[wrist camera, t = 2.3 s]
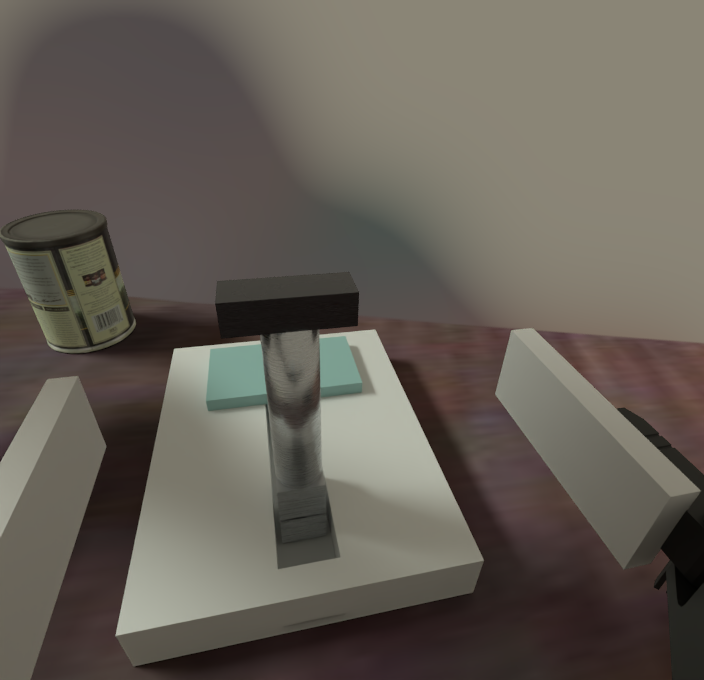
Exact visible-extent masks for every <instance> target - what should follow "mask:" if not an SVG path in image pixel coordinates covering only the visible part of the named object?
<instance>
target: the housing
mask: <svg viewBox="0 0 704 680" xmlns="http://www.w3.org/2000/svg"><path fill="white" fill-rule="evenodd" d="M340 336H346V339H347V342H348V344H349V347H350V350H351V353H352V355H353V358H354V361H355V364H356V366H357V369H358V372H359V375H360V377H361V380H362V392H361V393H353V394H345V395H337V396H329V397H321V438H322V469H323V475H324V480H325V485H326V535H325V536H319V537H314V538H308V539H302V540H297V541H291V542H286V543H282V534H281V525H280V516H279V507H278V498H277V488H276V476H275V466H274V457H273V448H272V439H271V430H270V421H269V411H268V404H263V405H255V406H247V407H238V408H230V409H222V410H214V411H208V409H207V404H206V394H207V382H208V371H209V359H210V349H216V348H227V347H237V346H247V345H258V344H261V341H251V342H240V343H230V344H219V345H209V346H198V347H188V348H177V349H174V352H173V357H172V362H171V367H170V372H169V377H168V381H167V386H166V391H165V396H164V401H163V406H162V411H161V416H160V421H159V426H158V430H157V435H156V440H155V445H154V450H153V455H152V460H151V465H150V470H149V474H148V479H147V484H146V489H145V494H144V499H143V504H142V509H141V514H140V518H139V523H138V528H137V533H136V538H135V543H134V548H133V553H132V558H131V562H130V567H129V572H128V577H127V582H126V587H125V592H124V597H123V602H122V606H121V611H120V616H119V621H118V626H117V631H116V638H117V639H118V641H119V643H120V644H121V646H122V648H123V649H124V651H125V653H126V654H127V656H128V658H129V660H130V661H131V663H132V665H133V666H138V665H143V664H147V663H152V662H157V661H161V660H166V659H170V658H175V657H180V656H184V655H189V654H193V653H198V652H203V651H207V650H212V649H216V648H221V647H225V646H230V645H235V644H239V643H244V642H248V641H253V640H258V639H262V638H267V637H271V636H276V635H280V634H285V633H290V632H294V631H299V630H303V629H308V628H313V627H317V626H322V625H326V624H331V623H336V622H340V621H345V620H349V619H354V618H358V617H363V616H368V615H372V614H377V613H381V612H386V611H391V610H395V609H400V608H404V607H409V606H413V605H418V604H423V603H427V602H432V601H436V600H441V599H446V598H450V597H455V596H459V595H464V594H469V593H473V592H474V589H475V586H476V583H477V580H478V577H479V574H480V571H481V568H482V565H483V562H484V559H483V557H482V555H481V553H480V551H479V549H478V547H477V544H476V542H475V540H474V538H473V536H472V534H471V532H470V530H469V527H468V525H467V523H466V521H465V519H464V517H463V515H462V513H461V511H460V508H459V506H458V504H457V502H456V500H455V498H454V496H453V494H452V491H451V489H450V487H449V485H448V483H447V481H446V479H445V477H444V475H443V472H442V470H441V468H440V466H439V464H438V462H437V460H436V458H435V455H434V453H433V451H432V449H431V447H430V445H429V443H428V441H427V439H426V436H425V434H424V432H423V430H422V428H421V426H420V424H419V422H418V419H417V417H416V415H415V413H414V411H413V409H412V407H411V405H410V403H409V400H408V398H407V396H406V394H405V392H404V390H403V388H402V386H401V383H400V381H399V379H398V377H397V375H396V373H395V371H394V369H393V367H392V364H391V362H390V360H389V358H388V356H387V354H386V352H385V350H384V347H383V345H382V343H381V341H380V339H379V337H378V335H377V333H376V331H375V330H366V331H356V332H345V333H335V334H324V335H319V338H330V337H340Z"/></svg>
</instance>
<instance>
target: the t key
mask: <svg viewBox="0 0 704 680" xmlns="http://www.w3.org/2000/svg"><path fill="white" fill-rule="evenodd" d="M358 304H359V291H358V289H357V287H356V285H355V283H354V281H353V279H352V277H351V275H350V273H349V272H342V273H328V274H313V275H300V276H285V277H270V278H256V279H242V280H229V281H228V280H227V281H217V289H216V301H215V305H216V311H217V317H218V323H219V329H220V335H221V339H222V338H233V337H243V336H254V335H260V338H261V347H262V356H263V365H264V375H265V384H266V393H267V402H268V411H269V421H270V430H271V439H272V448H273V457H274V466H275V476H276V488H277V498H278V507H279V516H280V525H281V534H282V543H286V542H291V541H297V540H302V539H308V538H314V537H319V536H325V535H326V485H325V480H324V475H323V469H322V438H321V389H320V341H319V329H329V328H340V327H351V326H358Z"/></svg>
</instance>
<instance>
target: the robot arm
mask: <svg viewBox="0 0 704 680" xmlns="http://www.w3.org/2000/svg"><path fill="white" fill-rule="evenodd" d="M495 395H496V396H497V397H498V399H499V400H500V401H501V403H502V404H503V406H504V407H505V408H506V410H507V411H508V412H509V414H510V415H511V416H512V418H513V419H514V421H515V422H516V423H517V425H518V426H519V427H520V429H521V430H522V431H523V433H524V434H525V436H526V437H527V438H528V440H529V441H530V442H531V444H532V445H533V446H534V448H535V449H536V451H537V452H538V453H539V455H540V456H541V457H542V459H543V460H544V461H545V463H546V464H547V466H548V467H549V468H550V470H551V471H552V472H553V474H554V475H555V476H556V478H557V479H558V481H559V482H560V483H561V485H562V486H563V487H564V489H565V490H566V491H567V493H568V494H569V496H570V497H571V498H572V500H573V501H574V502H575V504H576V505H577V506H578V508H579V509H580V511H581V512H582V513H583V515H584V516H585V517H586V519H587V520H588V521H589V523H590V524H591V526H592V527H593V528H594V530H595V531H596V532H597V534H598V535H599V536H600V538H601V539H602V541H603V542H604V543H605V545H606V546H607V547H608V549H609V550H610V551H611V553H612V554H613V556H614V557H615V558H616V560H617V561H618V562H619V564H620V565H621V566H622V568H623V569H628V568H633V567H637V566H641V565H646V564H650V563H651V562H652V561H653V559H654V558H655V556H656V555H657V554H658V552H659V551H660V549H662V550H663V552H664V553H665V554H666V555H667V556H668V558H669V559H670V561H669V562H668V564H667V565H666V566H665V568H664V569H663V570H662V572H661V573H660V574H659V576H658V577H657V579H656V580H655V583H654V588H656V589H658V590H659V589H660V587H661V586H662V585H663V583H664V582H665V581H666V580H667V591H666V593H667V596H668V613H669V631H670V648H671V666H672V680H704V475H703V474H702V473H701V472H700V471H699V470H698V469H697V468H696V467H695V466H694V465H693V464H692V463H690V462H689V461H688V460H687V459H686V458H685V457H684V456H683V455H682V454H681V453H680V452H679V451H678V450H676V449H675V448H672V447H671V444H670V443H669V442H668V441H667V440H666V439H665V438H663V437H662V436H659V433H658V432H657V431H656V430H655V429H654V428H653V427H652V426H651V425H649V424H648V423H647V422H646V421H645V420H644V419H643V418H641V417H639V416H637V415H636V414H634V413H632V412H631V411H629V410H627V409H625V408H618V409H616V408H615V407H614V406H613V405H612V404H611V403H610V402H608V401H607V400H606V399H605V398H604V397H603V396H602V395H601V394H600V393H599V392H598V391H597V390H596V389H595V388H594V387H593V386H592V385H591V384H590V383H589V382H588V381H587V380H586V379H585V378H584V377H583V376H582V375H581V374H580V373H578V372H577V371H576V370H575V369H574V368H573V367H572V366H571V365H570V364H569V363H568V362H567V361H566V360H565V359H564V358H563V357H562V356H561V355H560V354H559V353H558V352H557V351H556V350H555V349H554V348H553V347H552V346H551V345H550V344H548V343H547V342H546V341H545V340H544V339H543V338H542V337H541V336H540V335H539V334H538V333H537V332H536V331H535V330H534V329H533V328H528V329H519V330H512V331H511V334H510V338H509V342H508V346H507V350H506V354H505V358H504V362H503V366H502V370H501V374H500V378H499V381H498V385H497V389H496V393H495ZM105 449H106V444H105V441H104V439H103V436H102V434H101V431H100V429H99V426H98V424H97V421H96V419H95V417H94V414H93V412H92V409H91V407H90V404H89V402H88V399H87V397H86V394H85V392H84V390H83V387H82V385H81V382H80V380H79V377H78V376H74V377H64V378H55V379H47V381H46V383H45V384H44V386H43V388H42V390H41V391H40V393H39V395H38V397H37V398H36V400H35V402H34V404H33V406H32V407H31V409H30V411H29V413H28V414H27V416H26V418H25V420H24V421H23V423H22V425H21V427H20V428H19V430H18V432H17V434H16V436H15V437H14V439H13V441H12V443H11V444H10V446H9V448H8V450H7V451H6V453H5V455H4V457H3V458H2V460H1V462H0V680H31V677H32V674H33V670H34V667H35V664H36V661H37V658H38V655H39V652H40V649H41V646H42V643H43V640H44V637H45V634H46V631H47V627H48V624H49V621H50V618H51V615H52V612H53V609H54V606H55V603H56V600H57V597H58V594H59V591H60V588H61V585H62V581H63V578H64V575H65V572H66V569H67V566H68V563H69V560H70V557H71V554H72V551H73V548H74V545H75V542H76V538H77V535H78V532H79V529H80V526H81V523H82V520H83V517H84V514H85V511H86V508H87V505H88V502H89V499H90V496H91V492H92V489H93V486H94V483H95V480H96V477H97V474H98V471H99V468H100V465H101V462H102V459H103V456H104V453H105Z"/></svg>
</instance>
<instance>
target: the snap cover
mask: <svg viewBox="0 0 704 680" xmlns="http://www.w3.org/2000/svg"><path fill="white" fill-rule="evenodd" d="M319 341H320V389H321V397H329V396H337V395H345V394H353V393H361V392H362V380H361V377H360V375H359V372H358V369H357V366H356V364H355V361H354V358H353V355H352V353H351V350H350V347H349V344H348V342H347V339H346V336H340V337H330V338H319ZM206 404H207V409H208V411H214V410H222V409H230V408H238V407H247V406H255V405H263V404H268V402H267V393H266V384H265V375H264V365H263V356H262V347H261V344H258V345H247V346H237V347H227V348H216V349H210V359H209V371H208V382H207V394H206Z"/></svg>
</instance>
